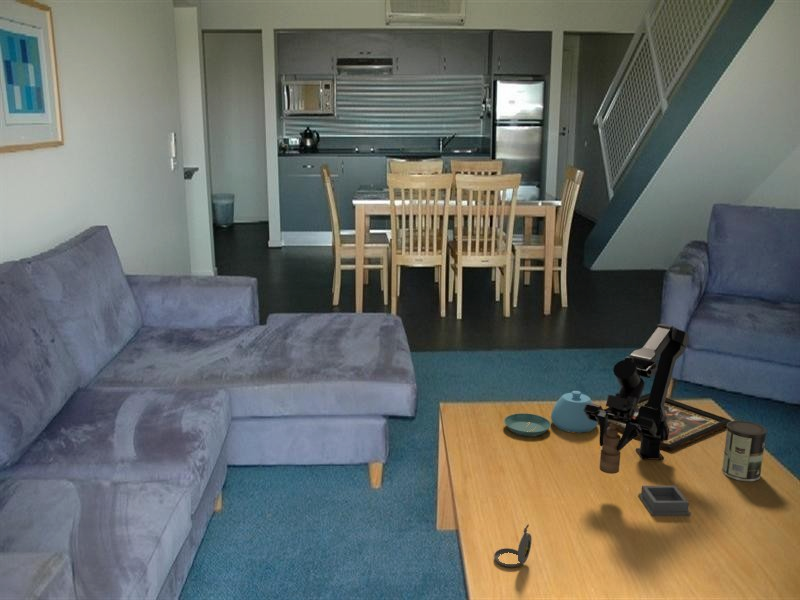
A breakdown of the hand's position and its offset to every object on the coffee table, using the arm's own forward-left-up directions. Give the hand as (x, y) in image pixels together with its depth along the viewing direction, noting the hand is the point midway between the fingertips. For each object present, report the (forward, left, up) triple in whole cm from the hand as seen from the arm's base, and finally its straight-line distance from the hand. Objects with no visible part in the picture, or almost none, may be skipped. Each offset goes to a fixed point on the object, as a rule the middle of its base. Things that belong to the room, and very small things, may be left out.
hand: (609, 448), depth 202 cm
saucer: (-44, -12, -14) cm, 47 cm away
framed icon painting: (-49, +33, -14) cm, 61 cm away
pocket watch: (+30, -30, -14) cm, 45 cm away
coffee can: (-13, +43, -14) cm, 47 cm away
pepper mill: (-1, +1, -7) cm, 7 cm away
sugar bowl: (-47, +4, -14) cm, 49 cm away
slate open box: (+5, +14, -14) cm, 20 cm away
